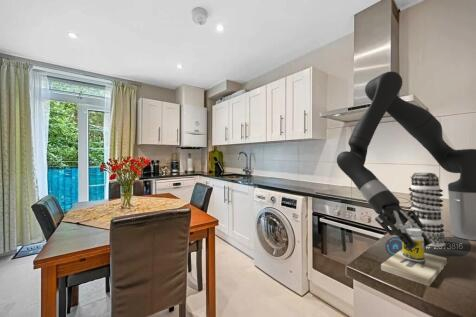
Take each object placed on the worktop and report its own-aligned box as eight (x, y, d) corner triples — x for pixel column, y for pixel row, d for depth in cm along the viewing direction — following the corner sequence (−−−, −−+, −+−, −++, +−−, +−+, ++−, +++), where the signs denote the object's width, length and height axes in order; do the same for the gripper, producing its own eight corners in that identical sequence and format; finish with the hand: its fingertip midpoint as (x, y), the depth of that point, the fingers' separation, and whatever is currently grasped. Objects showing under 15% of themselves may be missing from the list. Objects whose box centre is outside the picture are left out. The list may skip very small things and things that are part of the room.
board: (404, 252, 68) (403, 247, 68) (446, 263, 60) (446, 257, 60) (381, 270, 57) (380, 264, 58) (429, 286, 49) (429, 279, 49)
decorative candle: (440, 249, 69) (435, 173, 70) (407, 240, 78) (403, 173, 78) (451, 243, 74) (446, 172, 75) (418, 236, 82) (414, 172, 83)
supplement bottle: (400, 258, 60) (399, 228, 60) (405, 253, 63) (404, 225, 63) (422, 264, 56) (420, 232, 57) (426, 258, 59) (425, 228, 59)
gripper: (367, 190, 65) (411, 243, 54) (402, 188, 69) (449, 236, 57) (355, 204, 70) (391, 255, 58) (387, 201, 74) (428, 248, 62)
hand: (420, 246), depth 58 cm, fingers closed on supplement bottle, 4 cm apart
